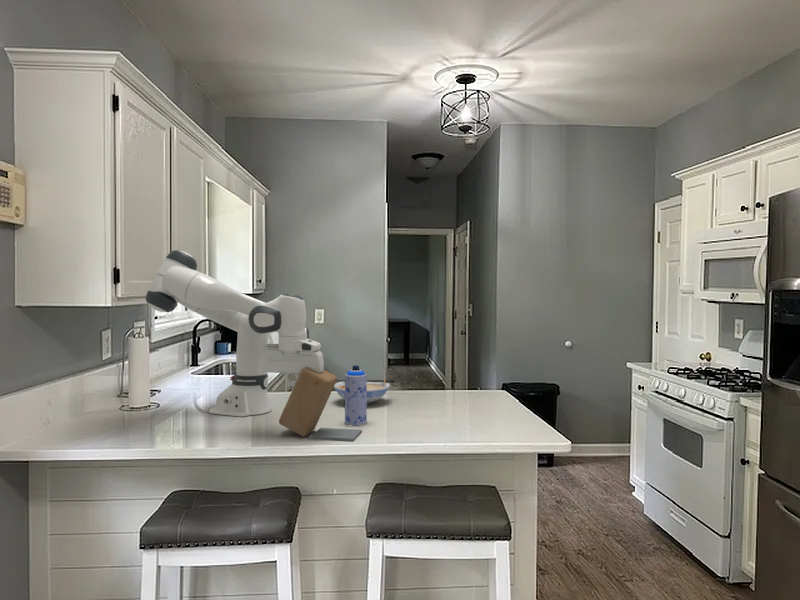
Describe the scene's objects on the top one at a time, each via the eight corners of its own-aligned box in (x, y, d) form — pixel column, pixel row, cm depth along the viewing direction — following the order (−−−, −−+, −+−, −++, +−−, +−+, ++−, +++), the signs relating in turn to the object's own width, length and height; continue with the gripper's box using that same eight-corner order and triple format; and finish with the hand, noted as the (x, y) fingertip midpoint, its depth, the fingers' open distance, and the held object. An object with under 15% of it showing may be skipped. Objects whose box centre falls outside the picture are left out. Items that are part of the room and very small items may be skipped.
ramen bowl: (324, 408, 227) (324, 387, 226) (337, 396, 249) (337, 377, 249) (388, 410, 224) (388, 388, 223) (395, 398, 246) (395, 378, 246)
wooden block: (303, 438, 183) (329, 381, 181) (276, 423, 185) (301, 367, 182) (314, 430, 193) (339, 376, 191) (288, 416, 195) (312, 362, 192)
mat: (309, 439, 182) (309, 436, 182) (320, 430, 193) (320, 427, 193) (353, 441, 180) (353, 438, 180) (361, 432, 191) (361, 429, 191)
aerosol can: (352, 419, 208) (353, 363, 208) (371, 422, 204) (371, 365, 204) (339, 424, 201) (339, 366, 201) (358, 426, 198) (358, 368, 197)
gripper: (258, 344, 187) (258, 387, 187) (319, 346, 183) (319, 389, 183) (266, 342, 193) (266, 384, 193) (325, 343, 189) (325, 386, 189)
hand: (292, 386), depth 188 cm, fingers closed
